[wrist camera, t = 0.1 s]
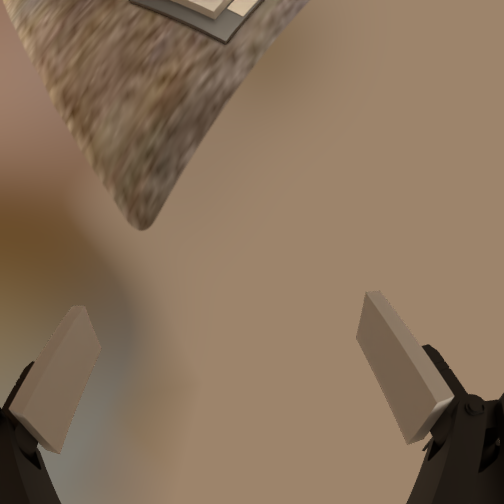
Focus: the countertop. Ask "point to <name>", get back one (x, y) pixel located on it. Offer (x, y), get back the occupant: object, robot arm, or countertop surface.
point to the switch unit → (206, 14)
